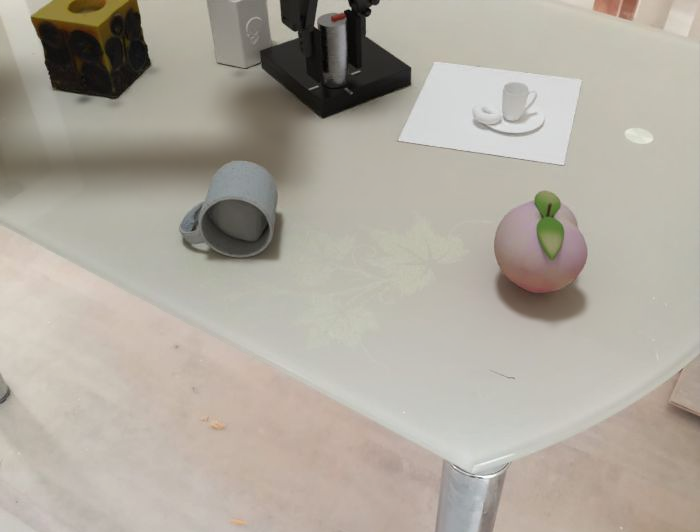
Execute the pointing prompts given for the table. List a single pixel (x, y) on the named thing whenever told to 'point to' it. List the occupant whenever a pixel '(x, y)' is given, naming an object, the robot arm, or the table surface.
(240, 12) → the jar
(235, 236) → the ceramic mug
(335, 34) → the silver cylinder
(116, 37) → the candle
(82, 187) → the table surface
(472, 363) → the table surface
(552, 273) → the decorative fruit
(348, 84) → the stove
